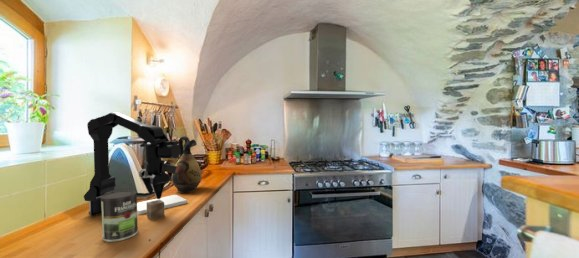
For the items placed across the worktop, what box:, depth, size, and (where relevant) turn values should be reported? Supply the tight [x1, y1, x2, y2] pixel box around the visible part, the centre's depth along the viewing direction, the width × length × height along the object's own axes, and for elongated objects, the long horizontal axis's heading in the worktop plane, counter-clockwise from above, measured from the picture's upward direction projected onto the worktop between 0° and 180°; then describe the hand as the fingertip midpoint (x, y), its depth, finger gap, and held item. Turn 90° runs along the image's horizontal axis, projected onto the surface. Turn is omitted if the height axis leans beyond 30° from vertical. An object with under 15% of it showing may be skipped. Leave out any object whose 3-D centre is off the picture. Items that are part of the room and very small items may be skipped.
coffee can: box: [101, 189, 139, 243], centre depth 88 cm, size 10×10×14 cm
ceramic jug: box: [171, 135, 203, 194], centre depth 143 cm, size 17×15×30 cm
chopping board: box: [137, 194, 188, 216], centre depth 119 cm, size 20×13×2 cm, turn 135°
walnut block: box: [146, 200, 166, 221], centre depth 105 cm, size 5×5×6 cm
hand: (154, 196), depth 105 cm, fingers open, 9 cm apart
